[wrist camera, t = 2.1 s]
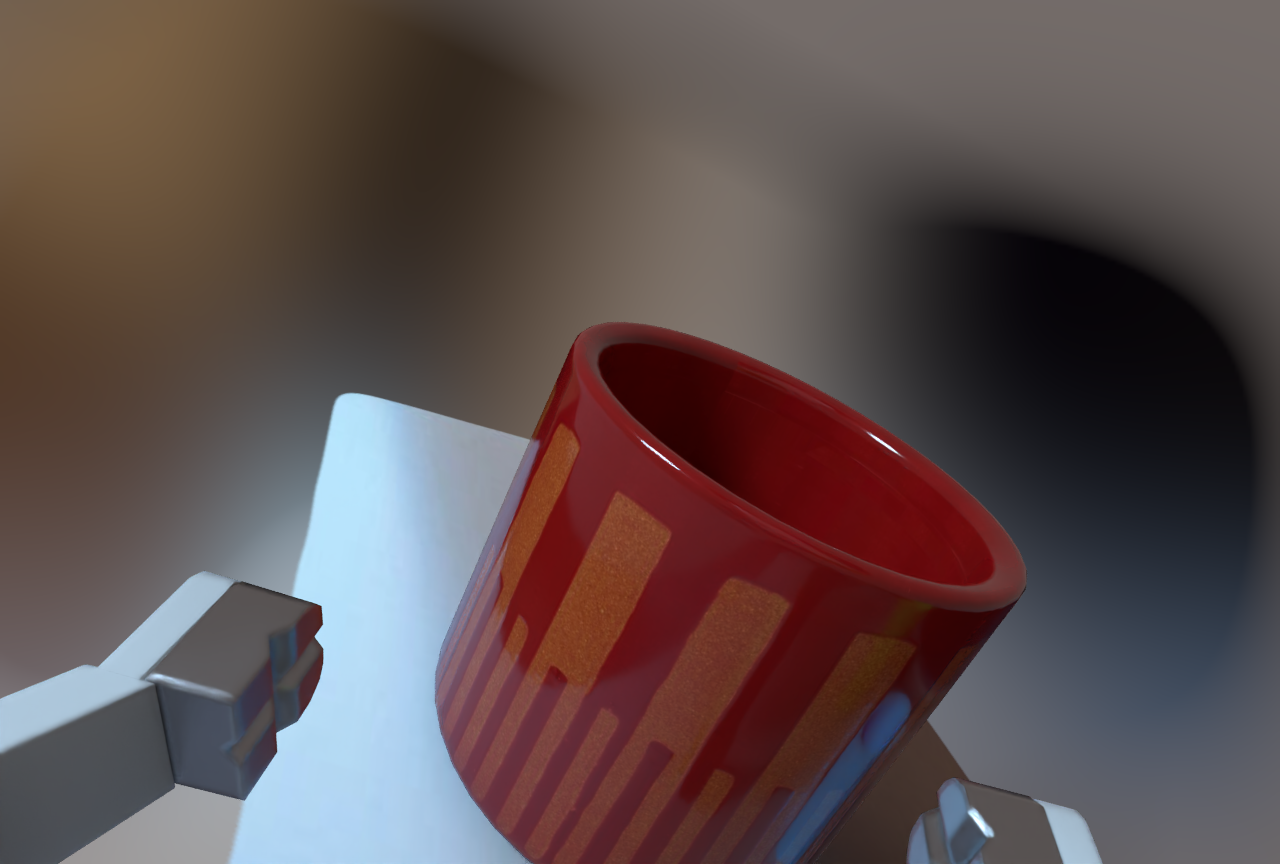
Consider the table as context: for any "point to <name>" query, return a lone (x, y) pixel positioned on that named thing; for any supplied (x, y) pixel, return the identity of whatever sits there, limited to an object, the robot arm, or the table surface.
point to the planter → (707, 612)
